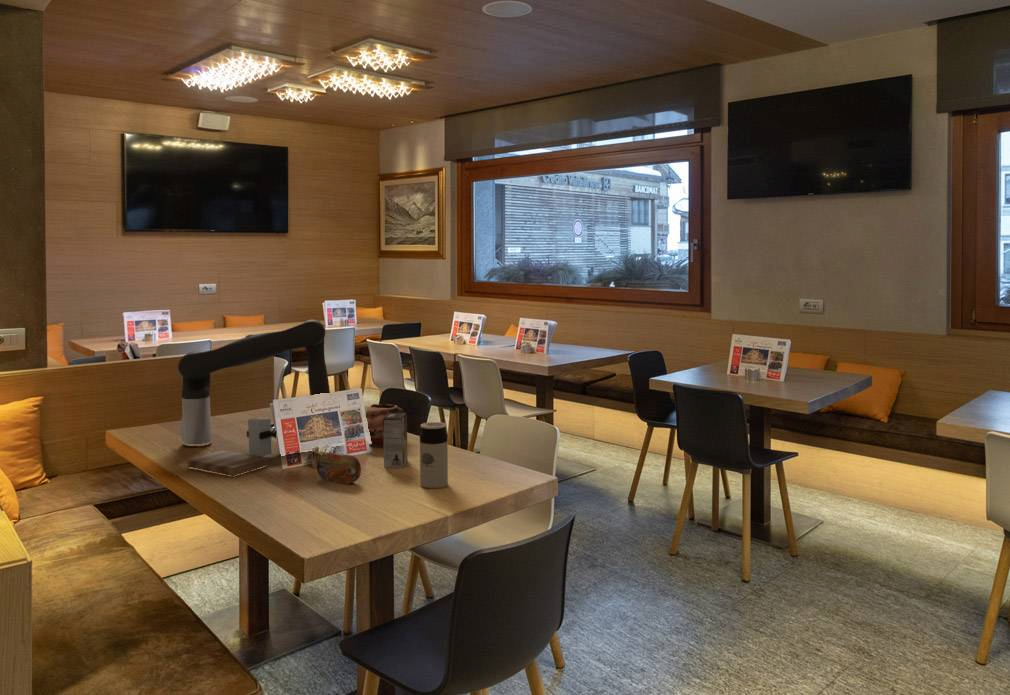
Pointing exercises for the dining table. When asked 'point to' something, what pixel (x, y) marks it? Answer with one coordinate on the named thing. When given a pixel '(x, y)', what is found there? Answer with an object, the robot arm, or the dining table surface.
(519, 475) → the dining table surface
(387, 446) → the coffee box
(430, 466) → the travel mug
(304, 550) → the dining table surface
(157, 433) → the dining table surface
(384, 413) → the decorative planter
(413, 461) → the dining table surface
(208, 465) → the walnut plinth
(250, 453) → the slate block
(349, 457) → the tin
